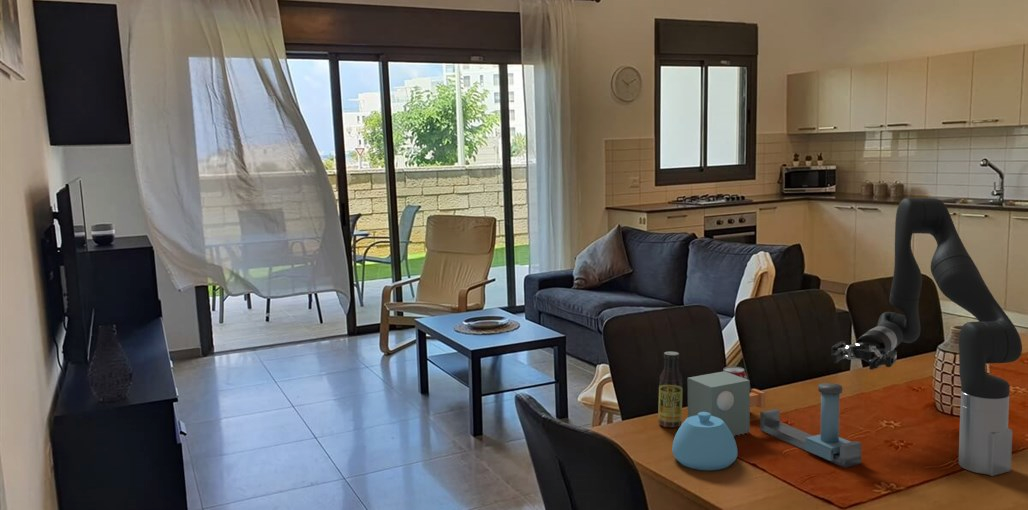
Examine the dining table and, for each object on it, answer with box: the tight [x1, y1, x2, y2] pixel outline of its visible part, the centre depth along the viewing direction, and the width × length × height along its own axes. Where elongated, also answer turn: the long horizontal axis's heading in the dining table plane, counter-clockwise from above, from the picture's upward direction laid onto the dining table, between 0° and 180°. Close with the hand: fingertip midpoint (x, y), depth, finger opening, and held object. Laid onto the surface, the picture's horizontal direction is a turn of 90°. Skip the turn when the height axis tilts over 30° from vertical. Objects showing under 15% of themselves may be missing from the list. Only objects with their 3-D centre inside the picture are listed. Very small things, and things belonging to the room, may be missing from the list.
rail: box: [759, 408, 862, 469], centre depth 191 cm, size 28×5×5 cm, turn 23°
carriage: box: [804, 382, 851, 462], centre depth 184 cm, size 8×7×16 cm
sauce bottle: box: [657, 351, 684, 429], centre depth 209 cm, size 7×6×20 cm
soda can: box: [722, 365, 748, 380], centre depth 219 cm, size 7×7×12 cm
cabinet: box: [686, 370, 751, 437], centre depth 203 cm, size 11×12×14 cm
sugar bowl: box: [671, 412, 738, 471], centre depth 185 cm, size 15×15×12 cm
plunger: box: [750, 388, 766, 409], centre depth 203 cm, size 4×8×4 cm, turn 113°
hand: (852, 362), depth 189 cm, fingers open, 8 cm apart
